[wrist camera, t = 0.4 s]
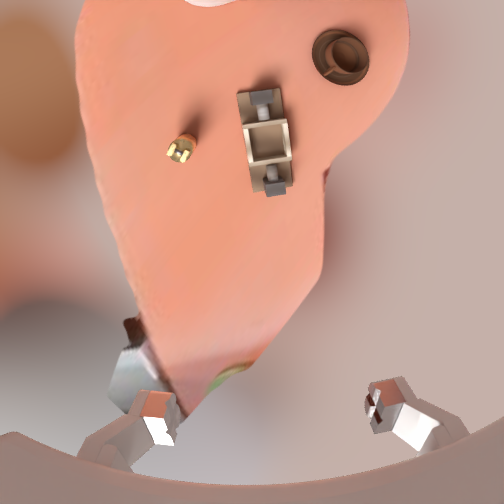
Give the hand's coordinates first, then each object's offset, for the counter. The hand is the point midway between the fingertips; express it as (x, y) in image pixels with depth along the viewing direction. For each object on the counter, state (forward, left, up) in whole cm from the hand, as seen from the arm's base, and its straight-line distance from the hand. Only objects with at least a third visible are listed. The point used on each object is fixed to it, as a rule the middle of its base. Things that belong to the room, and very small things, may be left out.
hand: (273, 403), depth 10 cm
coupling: (+3, -9, -50) cm, 51 cm away
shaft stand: (-5, +4, -50) cm, 50 cm away
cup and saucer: (-28, +7, -50) cm, 58 cm away
